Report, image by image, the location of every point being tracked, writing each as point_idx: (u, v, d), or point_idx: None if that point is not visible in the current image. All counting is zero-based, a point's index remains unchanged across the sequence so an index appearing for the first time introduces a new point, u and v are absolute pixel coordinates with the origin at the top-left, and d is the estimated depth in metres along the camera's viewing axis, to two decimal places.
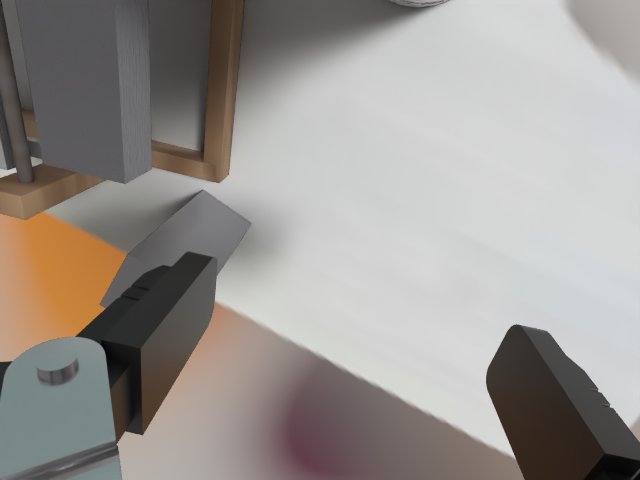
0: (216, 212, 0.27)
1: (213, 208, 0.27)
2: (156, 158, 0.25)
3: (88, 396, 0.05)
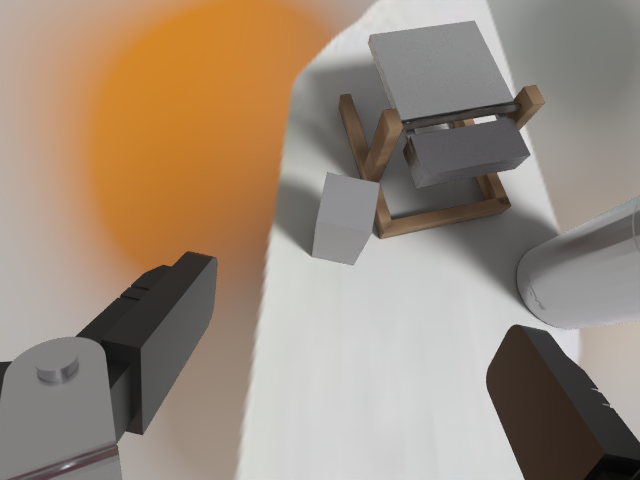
0: None
1: None
2: (378, 193, 0.39)
3: (88, 396, 0.05)
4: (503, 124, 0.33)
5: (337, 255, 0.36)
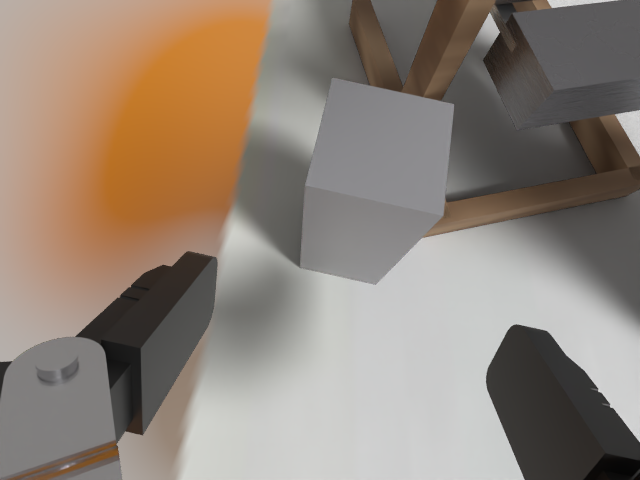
0: None
1: None
2: None
3: (88, 396, 0.05)
4: None
5: (347, 267, 0.19)
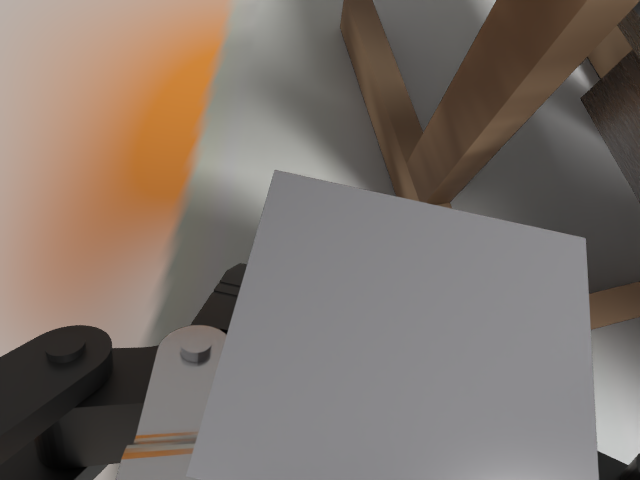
0: None
1: None
2: None
3: None
4: None
5: None
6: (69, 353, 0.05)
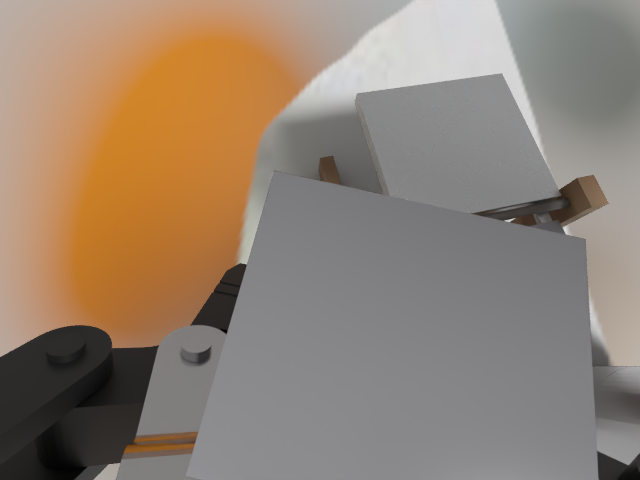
0: None
1: None
2: None
3: None
4: None
5: None
6: (69, 353, 0.05)
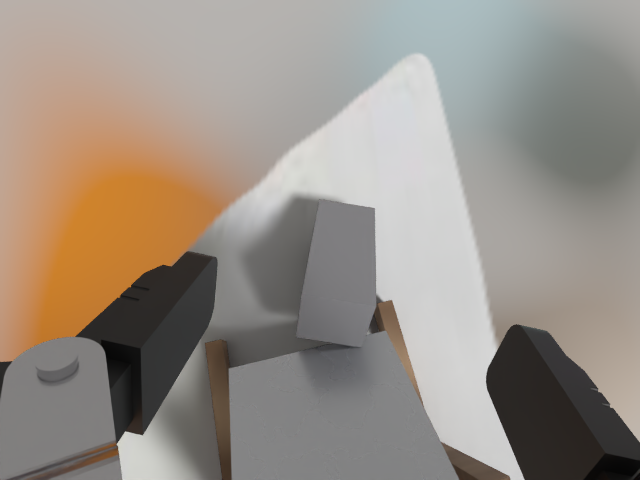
0: None
1: None
2: None
3: (88, 396, 0.05)
4: None
5: (345, 274, 0.23)
6: None
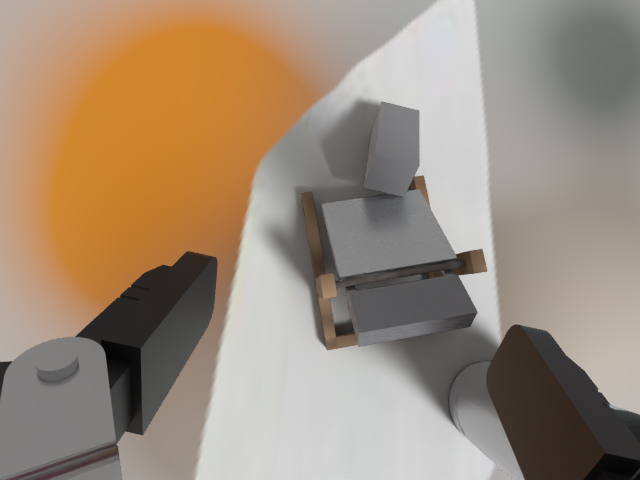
0: None
1: None
2: (326, 307, 0.40)
3: (88, 396, 0.05)
4: (447, 280, 0.32)
5: (400, 147, 0.37)
6: None
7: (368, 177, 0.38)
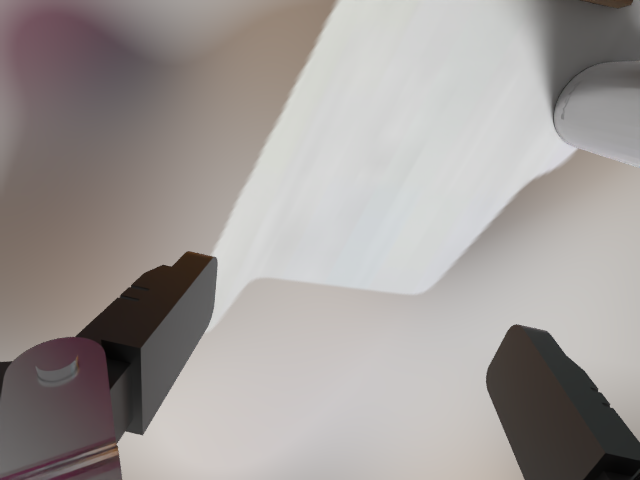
0: None
1: None
2: None
3: (88, 396, 0.05)
4: None
5: None
6: None
7: None
